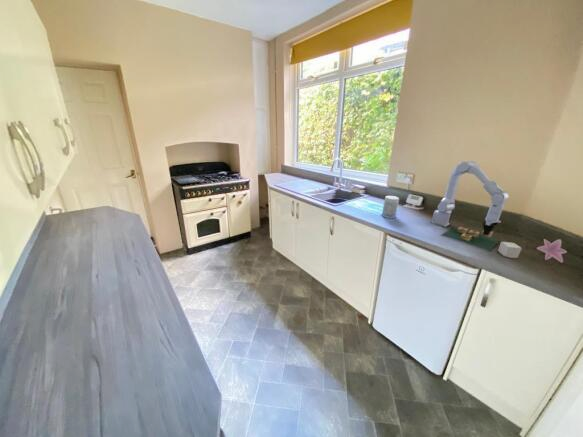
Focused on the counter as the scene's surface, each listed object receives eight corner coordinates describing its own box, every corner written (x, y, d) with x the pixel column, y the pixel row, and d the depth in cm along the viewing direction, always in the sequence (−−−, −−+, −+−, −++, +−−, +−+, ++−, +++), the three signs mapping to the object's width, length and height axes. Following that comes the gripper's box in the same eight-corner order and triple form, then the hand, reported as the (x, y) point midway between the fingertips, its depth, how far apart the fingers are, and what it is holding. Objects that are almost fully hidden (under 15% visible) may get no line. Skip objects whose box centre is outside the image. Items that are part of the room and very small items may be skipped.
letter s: (480, 234, 141) (482, 230, 140) (483, 232, 144) (484, 229, 143) (489, 237, 138) (491, 233, 137) (491, 235, 140) (493, 231, 140)
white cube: (509, 252, 127) (514, 242, 125) (517, 258, 122) (521, 248, 119) (497, 251, 128) (501, 241, 126) (504, 256, 123) (508, 246, 120)
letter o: (460, 238, 141) (461, 234, 140) (462, 236, 144) (464, 233, 143) (468, 241, 138) (470, 237, 137) (471, 239, 141) (472, 235, 140)
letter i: (456, 231, 151) (458, 228, 150) (459, 230, 153) (460, 226, 152) (464, 234, 148) (466, 230, 147) (467, 232, 150) (468, 228, 149)
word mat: (441, 235, 145) (441, 235, 145) (453, 228, 157) (453, 227, 157) (489, 251, 128) (489, 250, 128) (498, 241, 140) (499, 240, 140)
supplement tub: (382, 213, 181) (386, 194, 176) (395, 215, 177) (399, 196, 172) (381, 217, 173) (384, 198, 168) (394, 219, 169) (398, 200, 164)
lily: (527, 256, 126) (541, 246, 118) (531, 242, 131) (546, 232, 124) (554, 270, 121) (571, 261, 113) (558, 255, 126) (574, 245, 119)
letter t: (467, 234, 146) (469, 231, 145) (470, 233, 149) (471, 229, 148) (476, 237, 143) (477, 233, 142) (478, 235, 146) (479, 232, 145)
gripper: (500, 216, 128) (491, 239, 133) (506, 211, 137) (498, 232, 142) (484, 213, 133) (476, 234, 138) (491, 208, 142) (484, 228, 147)
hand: (486, 233), depth 140 cm, fingers closed on letter s, 4 cm apart
